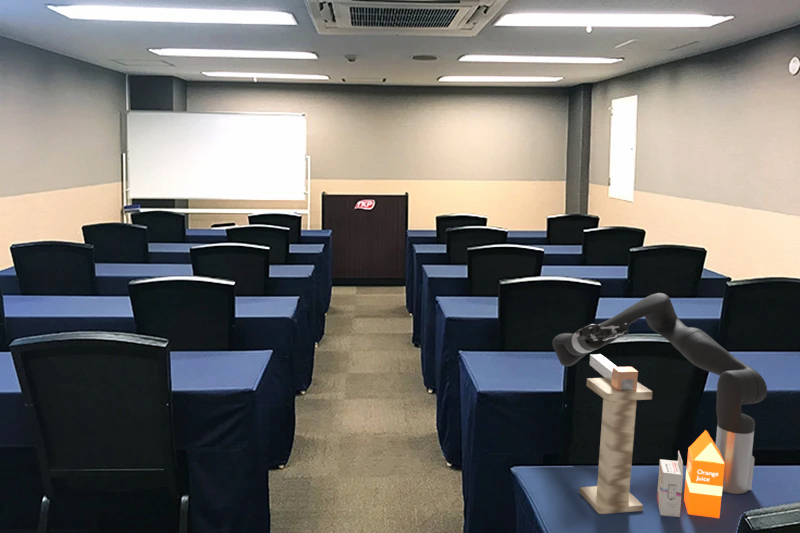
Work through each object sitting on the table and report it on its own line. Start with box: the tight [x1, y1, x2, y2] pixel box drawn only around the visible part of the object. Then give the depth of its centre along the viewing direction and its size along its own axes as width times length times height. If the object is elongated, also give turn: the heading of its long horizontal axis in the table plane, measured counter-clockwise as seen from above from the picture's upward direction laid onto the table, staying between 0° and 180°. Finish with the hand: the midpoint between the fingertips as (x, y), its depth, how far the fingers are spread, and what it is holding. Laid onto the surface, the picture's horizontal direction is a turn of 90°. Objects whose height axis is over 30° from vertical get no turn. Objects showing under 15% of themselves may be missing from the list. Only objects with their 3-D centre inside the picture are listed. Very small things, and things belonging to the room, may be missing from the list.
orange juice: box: [683, 429, 725, 519], centre depth 195 cm, size 8×9×20 cm
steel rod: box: [589, 353, 639, 391], centre depth 200 cm, size 5×22×5 cm, turn 7°
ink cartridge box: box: [656, 450, 684, 518], centre depth 195 cm, size 9×5×15 cm, turn 168°
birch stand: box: [578, 377, 653, 515], centre depth 197 cm, size 12×12×32 cm
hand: (613, 327), depth 217 cm, fingers open, 8 cm apart
